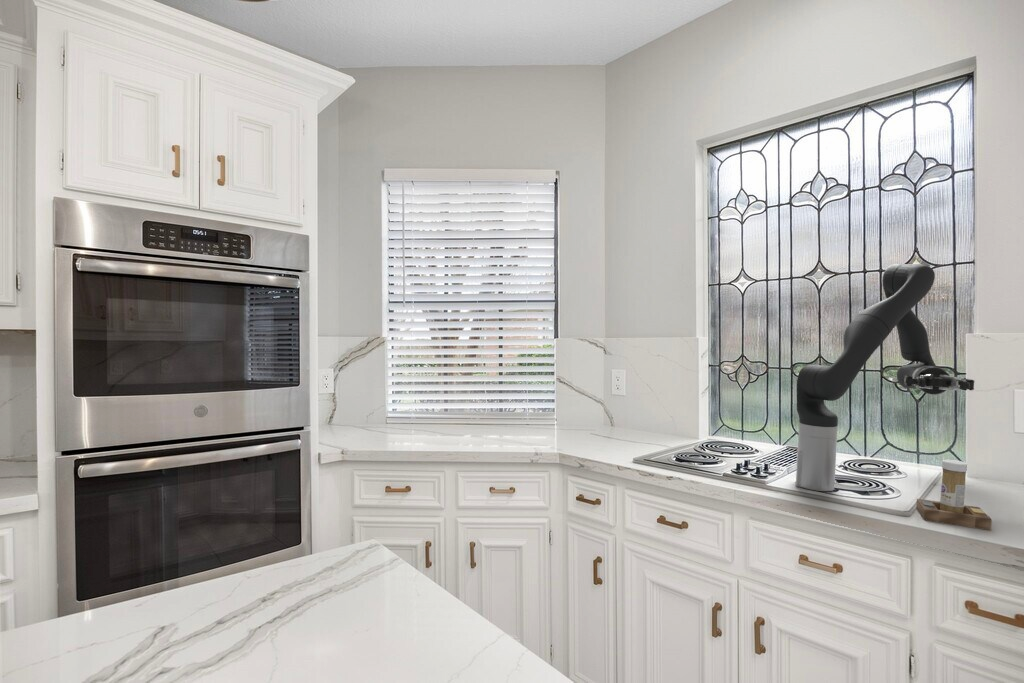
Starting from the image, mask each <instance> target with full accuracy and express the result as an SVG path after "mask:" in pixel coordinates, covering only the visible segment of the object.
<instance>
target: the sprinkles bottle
mask: <svg viewBox="0 0 1024 683" xmlns="http://www.w3.org/2000/svg"><path fill="white" fill-rule="evenodd" d="M941 469H942V473H941V474H942V476H941V486H940V498H939V500H940V501H939V502H940V510H943V511H950V512H957V513H963V507H964V505H965V496H966V476H967V475H966V474H967V471H968V463H966V462H965V461H961V460H958V459H957V460H956V459H942V461H941Z"/></svg>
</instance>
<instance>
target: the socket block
mask: <svg viewBox="0 0 1024 683" xmlns="http://www.w3.org/2000/svg"><path fill="white" fill-rule="evenodd" d="M921 501H926V502H932V503H933V505H934V506H935V507H928V506H924V505H923V504H922V503H921ZM915 502H916V504H915V505H916V507H915V510H916V511H917V512H918V513H919V515H920V516H921V518H922V520H924V521H927V522H928V521H929V522H935V523H942V524H948V525H953V526H962V527H968V528H974V529H981V530H988V531H991V530H992V518H991V517H990V516H989V515H988V514H987V513H986V512H985V511H984V510H983V509H981V507H978V506H973V505H965V504H964V507H963V513H957V512H950V511H943V510H940V501H936V500H930V499H922V498H916V501H915ZM970 508H975V509H981V510H982V511H983V512H984V513H985V515H984V514H977V513H973V512H972V511H971V510H970Z"/></svg>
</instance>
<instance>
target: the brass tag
mask: <svg viewBox="0 0 1024 683" xmlns="http://www.w3.org/2000/svg"><path fill="white" fill-rule="evenodd" d="M970 510H971V511H972V512H973V513H977V514H984V515H985V513H986V512H985V511H984V510H983V509H981V508H980V509H975V508H970ZM982 510H983V511H984V512H985V513H984V512H983V511H982Z"/></svg>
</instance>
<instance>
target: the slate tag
mask: <svg viewBox="0 0 1024 683" xmlns="http://www.w3.org/2000/svg"><path fill="white" fill-rule="evenodd" d="M921 503H922V504H923V505H924V506H928V507H935V506H934V505H933V503H932V502H926V501H921Z"/></svg>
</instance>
